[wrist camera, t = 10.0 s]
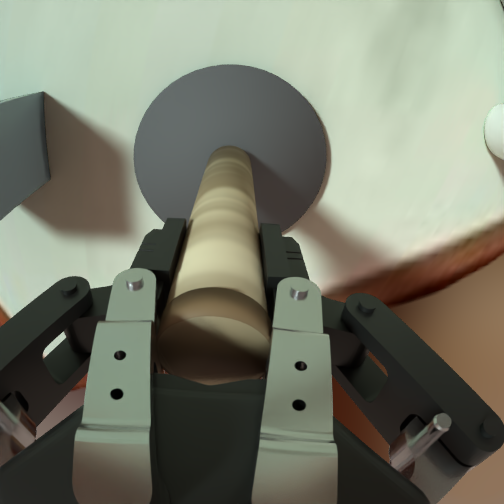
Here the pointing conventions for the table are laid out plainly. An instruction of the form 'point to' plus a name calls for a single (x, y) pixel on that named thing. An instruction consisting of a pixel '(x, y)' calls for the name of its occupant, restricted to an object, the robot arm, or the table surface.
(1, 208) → the deep cup
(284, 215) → the gray disc
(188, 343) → the beech dowel
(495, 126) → the drinking glass
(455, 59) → the table surface
